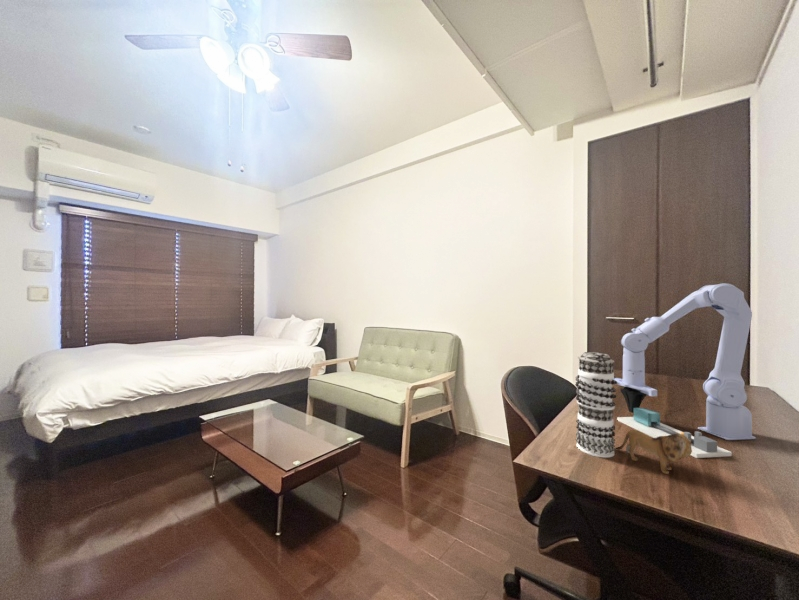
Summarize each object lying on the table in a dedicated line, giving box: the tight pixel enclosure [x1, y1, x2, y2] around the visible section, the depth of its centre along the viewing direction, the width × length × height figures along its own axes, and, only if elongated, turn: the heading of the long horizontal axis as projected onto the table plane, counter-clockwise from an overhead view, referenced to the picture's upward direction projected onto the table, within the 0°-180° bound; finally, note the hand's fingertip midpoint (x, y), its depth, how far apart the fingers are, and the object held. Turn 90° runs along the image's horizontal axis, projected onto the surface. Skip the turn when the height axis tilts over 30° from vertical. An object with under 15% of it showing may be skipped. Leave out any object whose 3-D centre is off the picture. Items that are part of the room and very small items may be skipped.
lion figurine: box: [614, 429, 692, 475], centre depth 73 cm, size 15×5×9 cm, turn 33°
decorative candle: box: [574, 351, 618, 458], centre depth 80 cm, size 9×9×25 cm
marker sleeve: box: [633, 407, 661, 426], centre depth 95 cm, size 4×5×4 cm
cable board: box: [616, 415, 733, 459], centre depth 88 cm, size 10×24×4 cm, turn 7°
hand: (633, 411), depth 100 cm, fingers closed
